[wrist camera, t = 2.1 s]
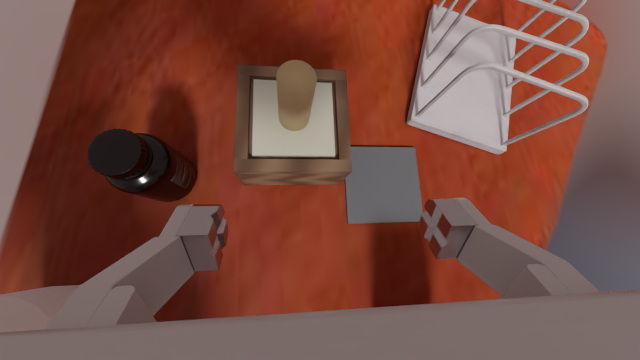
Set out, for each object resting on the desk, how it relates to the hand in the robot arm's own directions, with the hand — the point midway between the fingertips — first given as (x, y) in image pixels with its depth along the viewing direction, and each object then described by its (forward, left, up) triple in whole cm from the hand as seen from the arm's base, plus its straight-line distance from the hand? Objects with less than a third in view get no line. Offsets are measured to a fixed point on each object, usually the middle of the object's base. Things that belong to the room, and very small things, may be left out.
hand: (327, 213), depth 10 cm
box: (-1, +14, -27) cm, 30 cm away
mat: (+13, +7, -27) cm, 31 cm away
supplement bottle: (-18, +8, -27) cm, 33 cm away
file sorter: (+30, +26, -27) cm, 48 cm away
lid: (-1, +14, -20) cm, 24 cm away
